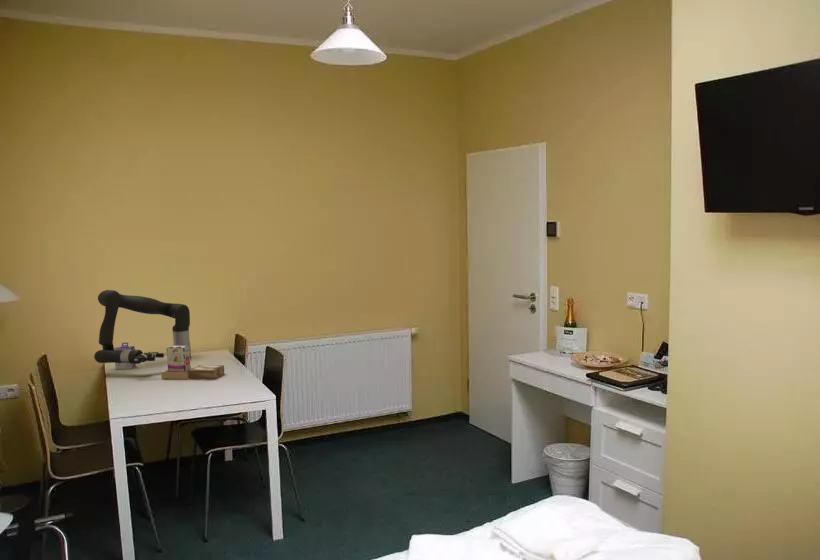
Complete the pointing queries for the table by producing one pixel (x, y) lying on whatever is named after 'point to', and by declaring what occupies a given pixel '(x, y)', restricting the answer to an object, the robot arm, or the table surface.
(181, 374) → the light wooden frame
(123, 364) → the ink cartridge box
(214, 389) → the table surface
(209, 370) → the stand
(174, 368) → the candy bar box
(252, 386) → the table surface
